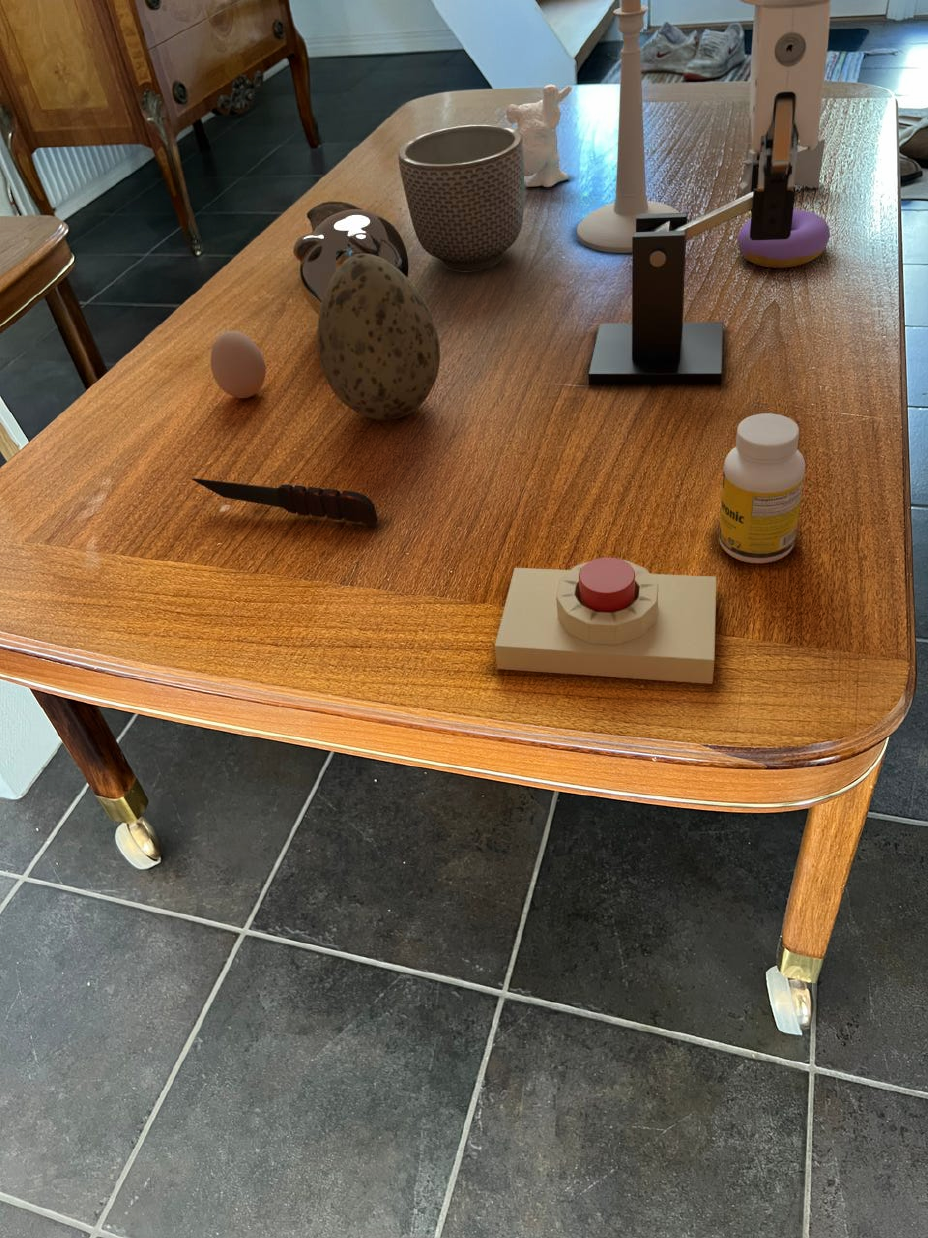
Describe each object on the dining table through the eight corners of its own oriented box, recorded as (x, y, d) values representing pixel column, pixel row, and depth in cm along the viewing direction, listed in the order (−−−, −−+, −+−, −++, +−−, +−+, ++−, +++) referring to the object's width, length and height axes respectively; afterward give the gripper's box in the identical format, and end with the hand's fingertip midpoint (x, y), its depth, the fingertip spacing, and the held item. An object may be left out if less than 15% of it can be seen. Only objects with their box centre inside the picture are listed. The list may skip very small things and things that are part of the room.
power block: (714, 600, 66) (718, 555, 64) (712, 684, 61) (716, 639, 58) (516, 590, 70) (512, 547, 67) (497, 669, 64) (491, 626, 61)
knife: (197, 506, 82) (186, 478, 80) (203, 500, 83) (192, 471, 81) (375, 529, 77) (368, 498, 75) (379, 522, 78) (372, 491, 76)
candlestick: (648, 201, 120) (653, -92, 100) (707, 232, 111) (724, -83, 91) (558, 228, 117) (543, -68, 97) (610, 262, 108) (606, -56, 88)
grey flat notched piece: (818, 188, 117) (739, 201, 117) (813, 184, 118) (734, 197, 118) (825, 138, 113) (743, 151, 113) (820, 135, 114) (739, 148, 114)
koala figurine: (578, 173, 130) (574, 75, 122) (571, 191, 126) (567, 91, 118) (517, 175, 132) (510, 80, 124) (508, 194, 128) (500, 95, 120)
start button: (637, 578, 64) (637, 557, 62) (632, 614, 61) (632, 594, 60) (583, 575, 64) (582, 555, 63) (576, 611, 62) (575, 591, 61)
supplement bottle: (711, 523, 72) (719, 411, 66) (783, 516, 72) (799, 402, 65) (725, 569, 68) (736, 454, 62) (802, 562, 68) (821, 446, 61)
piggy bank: (293, 357, 100) (265, 250, 93) (337, 293, 111) (315, 192, 103) (394, 357, 98) (373, 247, 90) (429, 292, 108) (414, 187, 100)
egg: (282, 392, 95) (264, 329, 91) (238, 414, 93) (218, 350, 88) (255, 377, 98) (236, 314, 94) (212, 397, 96) (191, 335, 92)
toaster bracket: (722, 332, 94) (732, 199, 85) (721, 385, 87) (731, 245, 78) (599, 334, 96) (597, 205, 88) (588, 385, 89) (584, 250, 81)
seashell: (317, 234, 124) (318, 178, 119) (386, 244, 124) (389, 188, 120) (291, 287, 112) (291, 227, 107) (367, 297, 112) (370, 238, 108)
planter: (536, 232, 117) (529, 118, 108) (524, 282, 107) (515, 161, 98) (426, 239, 120) (410, 128, 111) (404, 288, 110) (385, 170, 101)
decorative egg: (322, 403, 93) (284, 251, 83) (425, 372, 95) (400, 220, 85) (354, 457, 85) (316, 296, 75) (465, 421, 87) (443, 260, 77)
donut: (801, 277, 99) (797, 229, 97) (723, 277, 106) (718, 233, 103) (847, 241, 104) (845, 195, 101) (770, 244, 110) (766, 201, 108)
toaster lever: (784, 188, 81) (775, 162, 80) (786, 211, 78) (776, 184, 76) (652, 252, 87) (641, 228, 86) (648, 275, 84) (637, 251, 82)
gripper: (860, -8, 62) (821, 266, 74) (840, -58, 74) (810, 185, 86) (739, 2, 64) (721, 268, 76) (740, -48, 75) (724, 189, 88)
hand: (769, 221), depth 81 cm, fingers closed on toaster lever, 5 cm apart
